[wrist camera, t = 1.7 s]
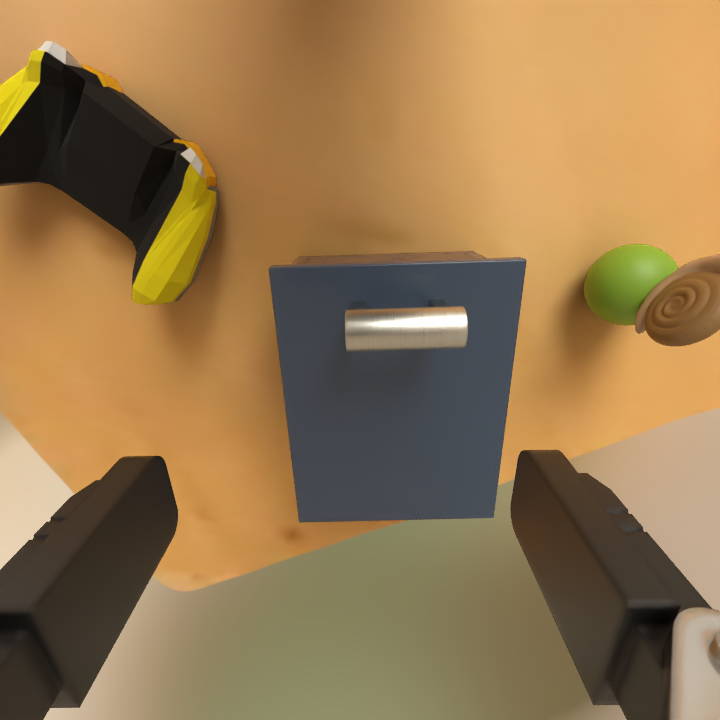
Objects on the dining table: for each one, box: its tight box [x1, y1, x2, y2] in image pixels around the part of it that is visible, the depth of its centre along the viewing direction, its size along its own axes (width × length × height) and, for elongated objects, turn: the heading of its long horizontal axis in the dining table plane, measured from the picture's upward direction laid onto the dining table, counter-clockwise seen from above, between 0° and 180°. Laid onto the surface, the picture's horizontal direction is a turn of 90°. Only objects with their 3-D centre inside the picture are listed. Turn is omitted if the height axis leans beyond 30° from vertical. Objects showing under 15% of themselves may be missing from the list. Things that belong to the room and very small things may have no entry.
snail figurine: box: [584, 244, 720, 346], centre depth 24 cm, size 5×6×12 cm
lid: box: [269, 257, 526, 522], centre depth 21 cm, size 17×13×5 cm
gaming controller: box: [0, 41, 219, 305], centre depth 24 cm, size 15×6×10 cm
